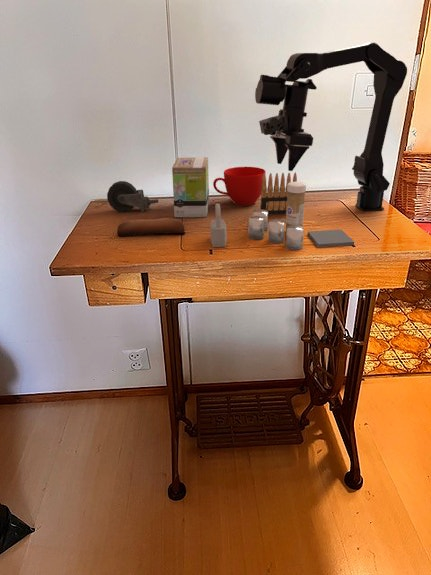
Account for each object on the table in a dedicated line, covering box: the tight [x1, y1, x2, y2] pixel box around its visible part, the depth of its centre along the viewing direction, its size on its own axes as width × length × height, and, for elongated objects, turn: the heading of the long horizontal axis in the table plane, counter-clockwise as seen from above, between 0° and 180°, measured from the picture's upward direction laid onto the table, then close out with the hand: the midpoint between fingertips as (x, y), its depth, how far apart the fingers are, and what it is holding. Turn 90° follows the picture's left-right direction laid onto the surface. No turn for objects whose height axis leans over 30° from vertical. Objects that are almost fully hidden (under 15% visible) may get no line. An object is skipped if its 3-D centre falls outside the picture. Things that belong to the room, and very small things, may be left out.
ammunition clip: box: [259, 172, 298, 216], centre depth 130 cm, size 11×2×12 cm, turn 90°
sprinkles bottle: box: [284, 181, 307, 235], centre depth 114 cm, size 5×5×13 cm
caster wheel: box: [106, 180, 159, 213], centre depth 137 cm, size 6×10×15 cm
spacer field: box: [247, 209, 305, 251], centre depth 113 cm, size 12×18×5 cm
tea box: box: [171, 156, 210, 218], centre depth 134 cm, size 15×10×15 cm
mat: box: [307, 228, 355, 248], centre depth 113 cm, size 9×9×1 cm
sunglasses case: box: [116, 217, 186, 237], centre depth 121 cm, size 18×7×7 cm
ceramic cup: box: [212, 166, 266, 207], centre depth 140 cm, size 13×17×10 cm
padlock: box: [209, 202, 227, 248], centre depth 111 cm, size 7×4×10 cm, turn 2°
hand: (284, 167), depth 124 cm, fingers open, 9 cm apart
